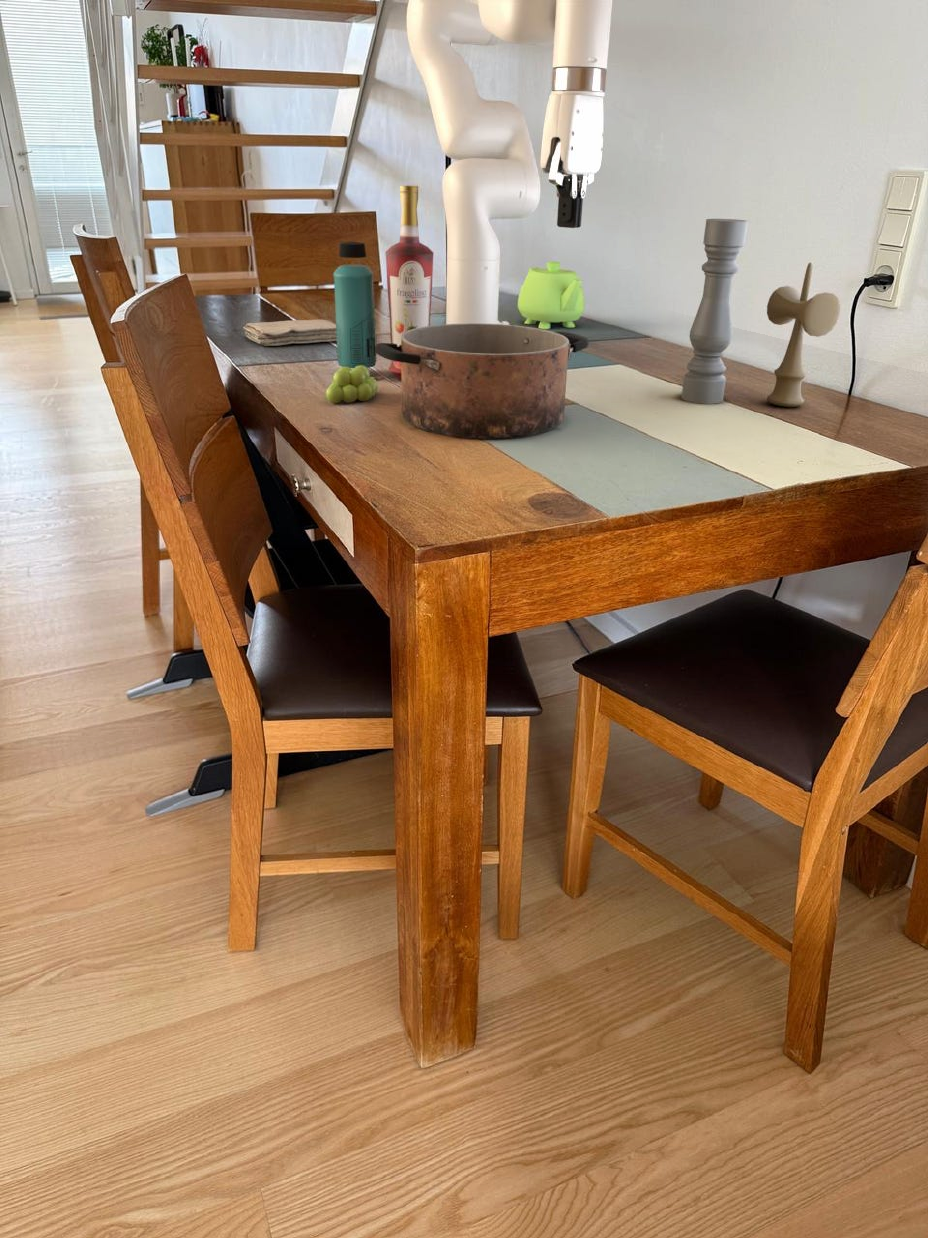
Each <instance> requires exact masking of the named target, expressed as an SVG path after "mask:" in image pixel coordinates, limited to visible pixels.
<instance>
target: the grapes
mask: <svg viewBox="0 0 928 1238" xmlns="http://www.w3.org/2000/svg"><path fill="white" fill-rule="evenodd" d="M383 380H385V376H384V375H378V376H375V377H373V376H371V373H370V370H369V368H366V367H365V366H362V365H359V366H356V367H355V368H349V367H346V366H344V367H341V366H340V368H338V370H336V371H335V372H334V374H333V378H332V381H333V382H331V383H330V385H329V386H328V387H327V388H326V391H325V397H326V399H327V401H329V402H330V403H331V404H339V403H340V402H342V401H343V402H345V403H354V402H355V401H357V400H358V401H360V402H367V401H369V400H371V398H373V397H374V396H375V395H376V393H377V391H378V387H379V384H378V382H379V381H383Z"/></svg>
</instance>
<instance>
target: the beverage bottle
mask: <svg viewBox="0 0 928 1238" xmlns="http://www.w3.org/2000/svg"><path fill="white" fill-rule="evenodd" d="M338 257H339V258H346V259H360V258H361V259H363V258H367V252H366V244H365V243H364V242H359V241H345V242H344V241H343V242H340V243H339V251H338ZM332 275H333V282H334V283H333V287H334V307H335V309H334V310H335V321H334V324H336V329H335V330H336V336H337V341H335V343H336V344H335V346H336V347H335V349H336V353H335V354H336V361H337V363H338V366H339V367H340V368H341V367H344V366H346V367H349V368H351V369H354V368H355V367H356V366H359V365H362V366H365V367H366V368H367V369H369V368H373V367H375V366H376V364H377V361H378V357H377V356H378V354H377V353H376V352H375V348H376V345H377V344H378V343H377V342H378V341H376V328H377V326H376V324H377V321H376V312H375V311H376V307H375V299H376V297H375V290H374V272H373V271H372V270H371V268H369V266H367V265H365V264H341V265H339V266H338V267H337V268H336V269H335V270H334V272H333V274H332Z"/></svg>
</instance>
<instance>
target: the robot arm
mask: <svg viewBox="0 0 928 1238" xmlns="http://www.w3.org/2000/svg"><path fill="white" fill-rule="evenodd" d="M612 8H613V0H408V4H407V8H406V34H407V41H408V46H409V49H410V53H411V55H412V59H413V61H414V63H415V65H416V68H417V70H418V72H419V74H420V76H421V79H422V81H423V83H424V86H425V88H426V92H427V96H428V101H429V105H430V109H431V113H432V116H433V117H432V118H433V122H434V126H435V130H436V134H437V138H438V142H439V146H440V148H441V150H442V152H443V153H444V156H446V157H447V158H450V159H452V160H455V161H454V162H452V163H450V165H448V167H447V168H446V169H445V171H444V174H443V175H442V180H441V181H442V182H441V192H442V201H443V207H444V214H445V223H446V300H445V301H446V307H445V308H446V310H445V315H446V316H445V318H446V319H445V324H466V323H480V324H504V325H510V323H509V322H508V321H507V320H503V321H500V320H499V318H498V317H499V294H500V293H499V291H500V265H501V263H500V262H501V247H500V241H499V238H498V236H497V233H496V232H495V231H494V229H493V227H492V225H491V223H490V220H506V219H507V220H508V219H510V220H511V219H512V220H513V219H523V218H528V217H530V216H532V215H533V214H534V213H535V211H536V210H537V209H538V206H539V204H540V200H541V189H542V188H541V179H540V174H539V170H538V165H537V159H536V156H535V152H534V149H533V143H532V140H531V135H530V131H529V127H528V124H527V120H526V118H525V115H524V113H523V111H522V110H521V109H520V108H519V107H518V106H517V105H516V104H514V103H512V102H509V101H504V100H489V99H484V98H482V96H480V95H479V91H478V88H477V85H476V80H475V76H474V73H473V71H472V69H471V67H470V66H469V64H468V62H467V61H466V60H465V59H464V57H462V55H461V54H460V53H459V52H458V51H457V49H456V50H455V48H454V47H453V46H452V44H461V45H471V46H472V45H473V46H484V47H485V46H488V47H489V46H495V45H498V44H500V43H502V41H504V42H507V43H509V44H514V45H527V46H528V45H531V46H543V47H550V48H553V53H552V71H551V72H552V73H551V89H550V91H551V92H550V94H549V98H548V100H547V105H546V110H545V115H544V122H543V123H544V124H543V129H542V130H543V131H542V138H541V149H540V163H539V164H540V165H539V166H540V170H541V171H542V172H543V173H544V174H549V175H548V182H549V183H550V184H552V185H554V186H555V187H556V197H557V198H558V202H557V216H556V217H557V219H556V226H557V227H559V228H567V229H579V228H580V227H581V226H582V216H583V215H582V214H583V203H584V202H583V201H584V198H585V196H586V190H587V187H588V185H590V184H592V183H593V182H594V181H595V174H596V173H598V172H599V170H600V168H601V166H602V165H601V164H602V159H603V150H604V149H603V148H604V147H603V146H604V125H605V124H604V123H605V122H604V121H605V120H604V118H605V117H604V116H605V115H604V98H605V96H606V85H607V72H608V71H607V70H608V57H609V45H610V33H611V21H612Z"/></svg>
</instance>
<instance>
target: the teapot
mask: <svg viewBox="0 0 928 1238" xmlns="http://www.w3.org/2000/svg"><path fill="white" fill-rule="evenodd" d="M560 266H561V262H559V261H547V262H546V267H547V268H540V267H529V268H528V273H527V275H526V277H525V279H524V282H523V283H522V286H521V287H520V290H519V295H518V299H517V309H518V311H519V313H520V315H521V316H522V317H523V318H525V319H526V320H525V321H524V324H527V325H536V324H537V322H538V321H539V324H538V327H537V328H538V329H543V330H549V329H551V323H552V324H553V323H554V324H555V323H556V324H557V323H558V324H559V323H561V322H562V327H564V328H575V327H576V324H575V323H574V322H573V321H578V320H579V319H580V318H581V317H582V315H583V314H584V311H585V307H586V306H585V295H584V291H583V287H582V285H583V279H579V277H578V273H576V271H573V270H569V269H564V268H563V269H562V268H560Z"/></svg>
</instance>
